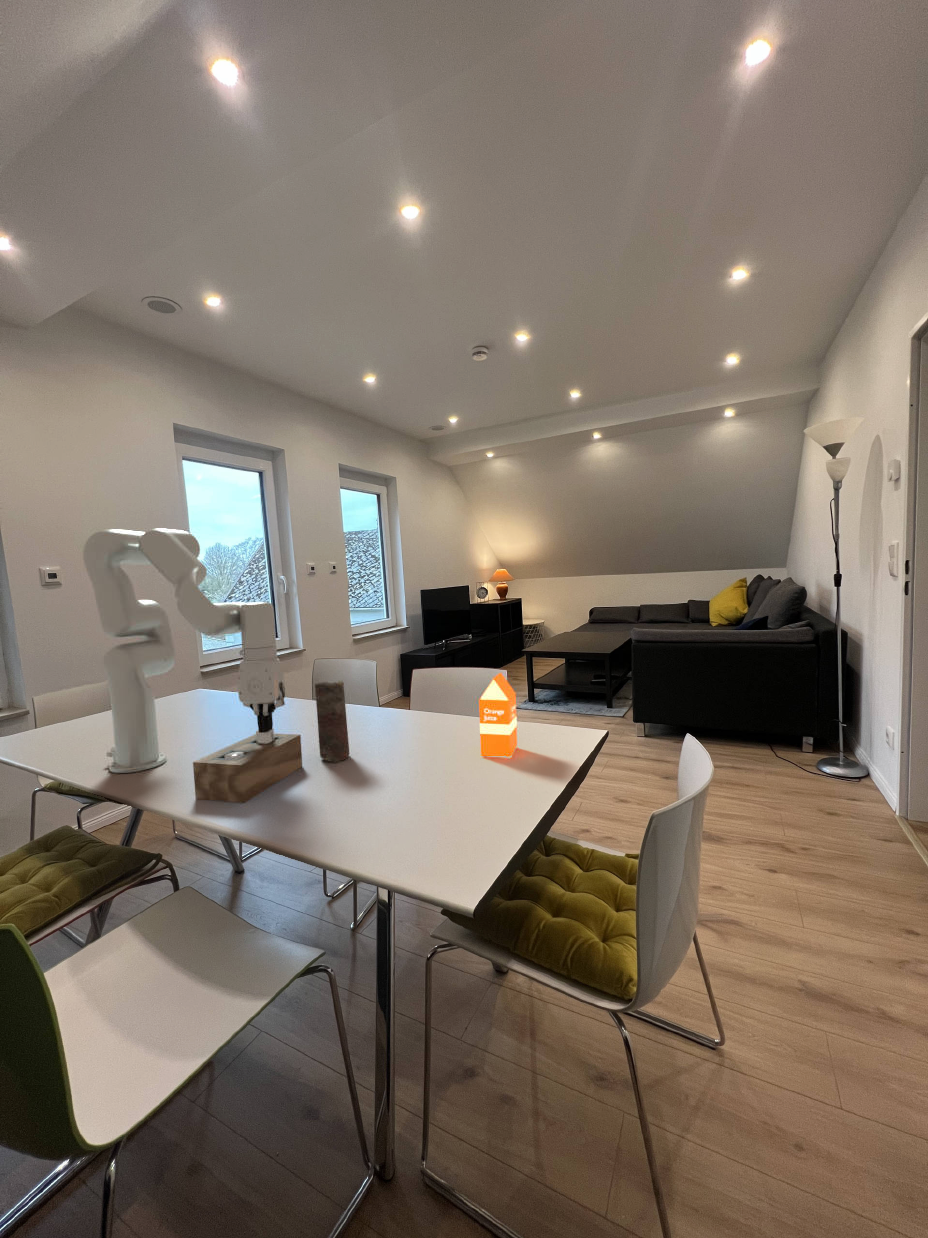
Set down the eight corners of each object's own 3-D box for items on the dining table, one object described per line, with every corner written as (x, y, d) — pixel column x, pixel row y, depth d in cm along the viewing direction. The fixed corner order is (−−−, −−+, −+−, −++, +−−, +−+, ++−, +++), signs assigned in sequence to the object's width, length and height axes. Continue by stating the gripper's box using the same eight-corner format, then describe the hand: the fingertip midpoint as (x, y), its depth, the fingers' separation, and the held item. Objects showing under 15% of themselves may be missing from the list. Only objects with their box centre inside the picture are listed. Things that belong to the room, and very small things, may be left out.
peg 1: (222, 788, 117) (220, 757, 116) (234, 782, 120) (232, 751, 120) (238, 790, 115) (236, 758, 115) (250, 783, 119) (248, 752, 119)
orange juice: (480, 757, 134) (477, 678, 133) (489, 746, 143) (486, 671, 141) (511, 758, 132) (508, 678, 131) (518, 747, 140) (515, 672, 139)
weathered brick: (313, 760, 136) (308, 683, 135) (332, 752, 143) (328, 678, 141) (336, 764, 133) (331, 684, 131) (355, 755, 139) (351, 679, 138)
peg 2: (254, 761, 127) (252, 732, 126) (264, 756, 131) (262, 728, 130) (268, 762, 126) (266, 733, 125) (279, 757, 130) (277, 728, 129)
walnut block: (195, 798, 114) (192, 762, 114) (260, 763, 135) (258, 732, 135) (243, 803, 111) (241, 765, 111) (302, 766, 132) (300, 734, 132)
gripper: (222, 657, 125) (228, 734, 126) (278, 656, 121) (283, 736, 122) (243, 652, 132) (249, 725, 133) (296, 651, 128) (302, 727, 129)
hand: (265, 730), depth 128 cm, fingers closed
